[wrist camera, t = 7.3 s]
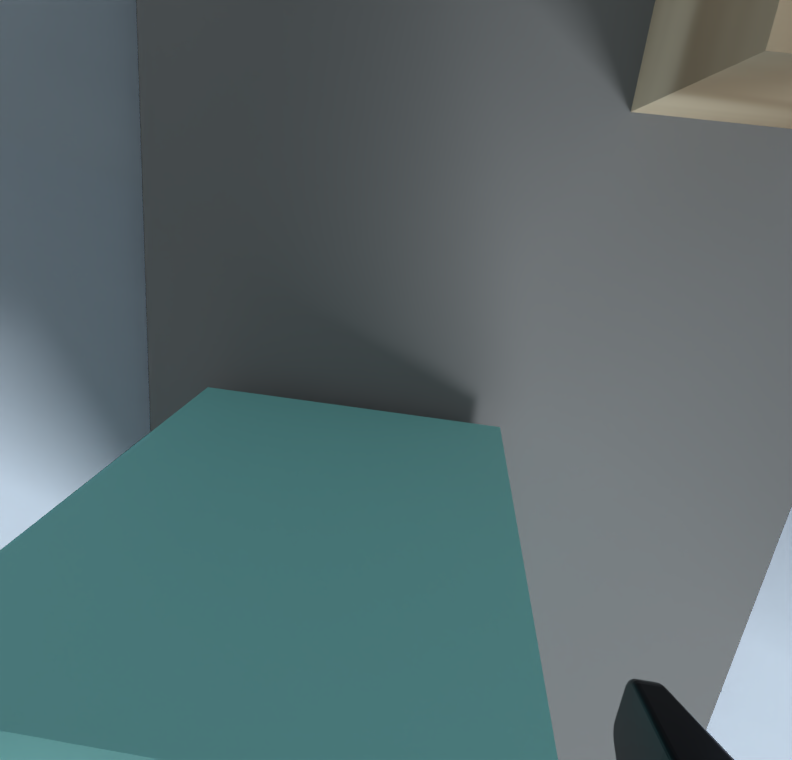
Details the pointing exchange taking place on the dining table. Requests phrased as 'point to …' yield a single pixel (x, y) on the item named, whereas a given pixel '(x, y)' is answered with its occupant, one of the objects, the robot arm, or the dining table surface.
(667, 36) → the tan block
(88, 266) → the dining table surface
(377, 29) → the mat
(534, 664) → the teal rectangular block
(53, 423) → the dining table surface
